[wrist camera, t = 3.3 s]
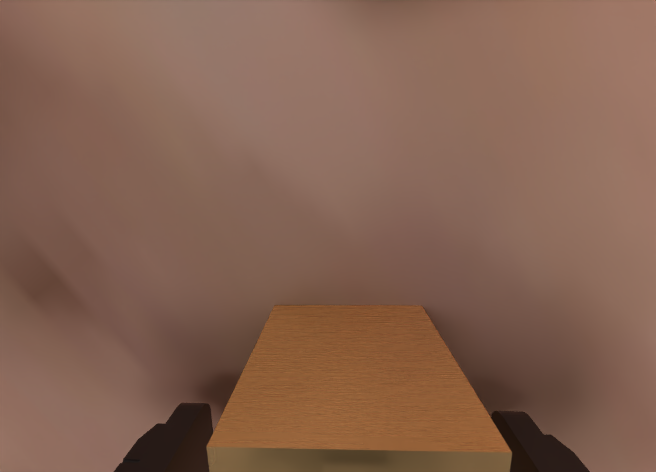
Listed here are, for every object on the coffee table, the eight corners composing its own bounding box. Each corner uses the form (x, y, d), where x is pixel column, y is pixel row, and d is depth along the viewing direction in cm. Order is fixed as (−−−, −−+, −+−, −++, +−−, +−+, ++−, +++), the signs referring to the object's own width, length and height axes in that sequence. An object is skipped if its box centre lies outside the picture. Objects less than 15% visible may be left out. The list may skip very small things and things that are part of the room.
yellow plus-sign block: (275, 303, 9) (197, 465, 4) (420, 304, 9) (524, 473, 4) (283, 462, 11) (232, 735, 6) (412, 464, 11) (484, 749, 5)
